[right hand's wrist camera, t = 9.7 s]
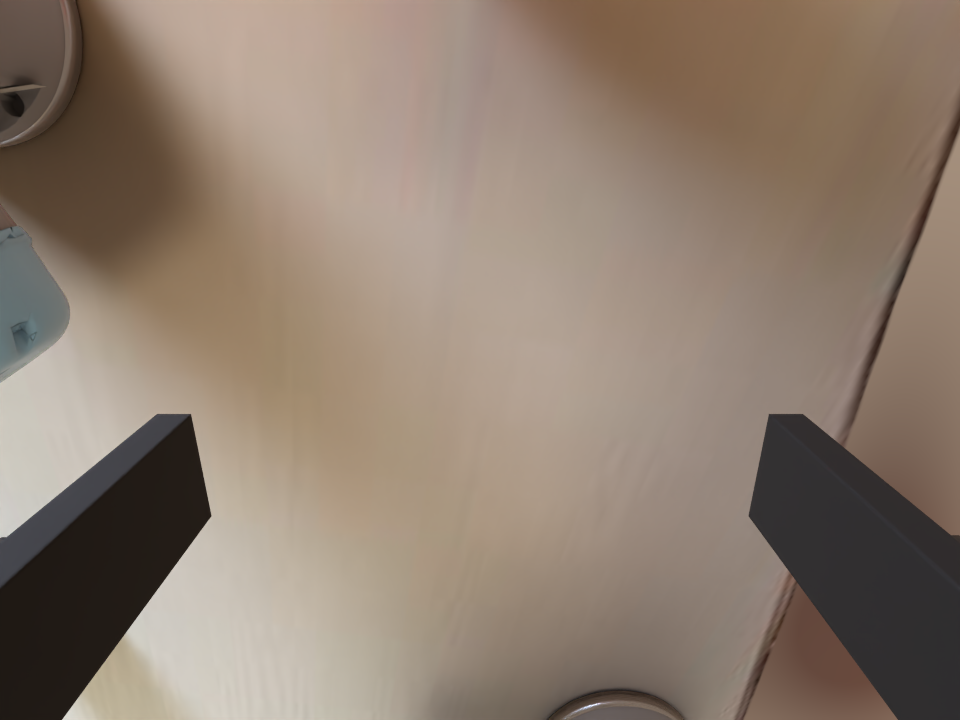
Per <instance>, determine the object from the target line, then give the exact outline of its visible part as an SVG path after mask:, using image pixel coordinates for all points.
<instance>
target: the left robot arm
mask: <svg viewBox="0 0 960 720" xmlns="http://www.w3.org/2000/svg"><path fill="white" fill-rule="evenodd" d="M81 62H82V32H81V24H80V18H79V13H78V9H77V5H76V1H75V0H0V147H5V146H12V145H16V144H19V143H23V142H25V141H28V140H30V139H32V138H34V137H36V136H38V135H40V134H41V133H42V132H44V131H45V130H47V129H48V128H49V127H50V126H51V125H52V124H53V123H55V122H56V121H57V119H58V118H59V117H60V116H61V115H62V113H63V112H64V110H65V109H66V107H67V106H68V104H69V102H70V100H71V98H72V96H73V94H74V91H75V88H76V86H77V83H78V79H79V74H80V70H81ZM69 319H70V307H69V304H68V300H67V298H66V296H65V294H64V293H63V291H62V290H61V289H60V287H59V286H58V284H57V283H56V281H55V280H54V278H53V277H52V275H51V274H50V272H49V271H48V270H47V268H46V267H45V265H44V264H43V262H42V261H41V259H40V258H39V256H38V255H37V253H36V252H35V250H34V249H33V248H32V239H31V237H29V235H28V234H27V232H25V231H24V230H23V229H22V228H21V227H20V226H17V225H16V224H15V222H14V221H13V220H12V219H11V217H10V216H9V215H8V213H7V212H6V211H5V209H4V208H3V207H2V205H1V204H0V382H2V381H3V380H5V379H6V378H8V377H9V376H11V375H12V374H14V373H15V372H17V371H18V370H19V369H21V368H22V367H24V366H25V365H27V364H28V363H29V362H31V361H32V360H34V359H35V358H36V357H38V356H39V355H40V354H42V353H43V352H44V351H46V350H47V349H48V348H50V347H51V346H52V345H53V344H54V343H56V342H57V341H58V340H59V339H60V337H61V336H62V335H63V334H64V332H65V330H66V328H67V326H68V323H69Z"/></svg>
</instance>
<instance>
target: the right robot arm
mask: <svg viewBox="0 0 960 720" xmlns="http://www.w3.org/2000/svg"><path fill="white" fill-rule="evenodd" d="M210 517H211V512H210V507H209V502H208V497H207V492H206V487H205V482H204V477H203V472H202V467H201V462H200V457H199V452H198V447H197V442H196V437H195V432H194V427H193V422H192V417H191V414H157V415H156V416H154V417H153V418H152V419H151V420H149V421H148V422H147V423H146V424H145V425H143V426H142V427H141V428H140V429H138V430H137V431H136V432H135V433H134V434H132V435H131V436H130V437H129V438H127V439H126V440H125V441H124V442H123V443H121V444H120V445H119V446H118V447H116V448H115V449H114V450H113V451H112V452H110V453H109V454H108V455H107V456H105V457H104V458H103V459H102V460H101V461H99V462H98V463H97V464H96V465H94V466H93V467H92V468H91V469H90V470H88V471H87V472H86V473H85V474H83V475H82V476H81V477H80V478H79V479H77V480H76V481H75V482H74V483H72V484H71V485H70V486H69V487H68V488H66V489H65V490H64V491H63V492H61V493H60V494H59V495H58V496H57V497H55V498H54V499H53V500H52V501H50V502H49V503H48V504H47V505H46V506H44V507H43V508H42V509H41V510H39V511H38V512H37V513H36V514H35V515H33V516H32V517H31V518H30V519H28V520H27V521H26V522H25V523H24V524H22V525H21V526H20V527H19V528H17V529H16V530H15V531H14V532H13V533H11V534H10V535H9V536H8V537H2V538H0V720H62V719H63V718H64V716H65V715H66V713H67V712H68V711H69V709H70V708H71V707H72V705H73V704H74V703H75V701H76V700H77V698H78V697H79V696H80V694H81V693H82V692H83V690H84V689H85V688H86V686H87V685H88V683H89V682H90V681H91V679H92V678H93V677H94V675H95V674H96V673H97V671H98V670H99V668H100V667H101V666H102V664H103V663H104V662H105V660H106V659H107V658H108V656H109V655H110V653H111V652H112V651H113V649H114V648H115V647H116V645H117V644H118V643H119V641H120V640H121V638H122V637H123V636H124V634H125V633H126V632H127V630H128V629H129V628H130V626H131V625H132V623H133V622H134V621H135V619H136V618H137V617H138V615H139V614H140V613H141V611H142V610H143V609H144V607H145V606H146V604H147V603H148V602H149V600H150V599H151V598H152V596H153V595H154V594H155V592H156V591H157V589H158V588H159V587H160V585H161V584H162V583H163V581H164V580H165V579H166V577H167V576H168V574H169V573H170V572H171V570H172V569H173V568H174V566H175V565H176V564H177V562H178V561H179V559H180V558H181V557H182V555H183V554H184V553H185V551H186V550H187V549H188V547H189V546H190V544H191V543H192V542H193V540H194V539H195V538H196V536H197V535H198V534H199V532H200V531H201V529H202V528H203V527H204V525H205V524H206V523H207V521H208V520H209V519H210ZM749 517H750V519H751V520H752V521H753V523H754V524H755V525H756V527H757V528H758V529H759V531H760V532H761V534H762V535H763V536H764V538H765V539H766V540H767V542H768V543H769V544H770V546H771V547H772V549H773V550H774V551H775V553H776V554H777V555H778V557H779V558H780V559H781V561H782V562H783V564H784V565H785V566H786V568H787V569H788V570H789V572H790V573H791V574H792V576H793V577H794V579H795V580H796V581H797V583H798V584H799V585H800V587H801V588H802V589H803V591H804V592H805V594H806V595H807V596H808V598H809V599H810V600H811V602H812V603H813V604H814V606H815V607H816V608H817V610H818V611H819V613H820V614H821V615H822V617H823V618H824V619H825V621H826V622H827V623H828V625H829V626H830V627H831V629H832V630H833V632H834V633H835V634H836V636H837V637H838V638H839V640H840V641H841V643H842V644H843V645H844V647H845V648H846V649H847V651H848V652H849V653H850V655H851V656H852V658H853V659H854V660H855V662H856V663H857V664H858V666H859V667H860V668H861V670H862V671H863V673H864V674H865V675H866V677H867V678H868V679H869V681H870V682H871V683H872V685H873V686H874V688H875V689H876V690H877V692H878V693H879V694H880V696H881V697H882V698H883V700H884V701H885V703H886V704H887V705H888V707H889V708H890V709H891V711H892V712H893V713H894V715H895V716H896V717H897V719H898V720H960V536H959V535H950V534H949V533H947V532H946V531H945V530H944V529H942V528H941V527H940V526H939V525H938V524H936V523H935V522H934V521H933V520H932V519H930V518H929V517H928V516H927V515H925V514H924V513H923V512H922V511H921V510H919V509H918V508H917V507H916V506H914V505H913V504H912V503H911V502H910V501H908V500H907V499H906V498H905V497H903V496H902V495H901V494H900V493H899V492H897V491H896V490H895V489H894V488H892V487H891V486H890V485H889V484H887V483H886V482H885V481H884V480H883V479H881V478H880V477H879V476H878V475H877V474H875V473H874V472H873V471H872V470H870V469H869V468H868V467H867V466H866V465H864V464H863V463H862V462H861V461H859V460H858V459H857V458H856V457H855V456H853V455H852V454H851V453H850V452H848V451H847V450H846V449H845V448H844V447H842V446H841V445H840V444H839V443H837V442H836V441H835V440H834V439H833V438H831V437H830V436H829V435H828V434H826V433H825V432H824V431H823V430H822V429H820V428H819V427H818V426H817V425H815V424H814V423H813V422H812V421H811V420H809V419H808V418H807V417H806V416H804V415H803V414H769V417H768V422H767V427H766V432H765V437H764V442H763V447H762V452H761V457H760V462H759V467H758V472H757V477H756V482H755V487H754V492H753V497H752V502H751V507H750V512H749ZM548 720H684V719H683V718H682V716H681V715H680V714H679V713H678V712H677V711H676V710H675V709H674V708H673V707H672V706H670V705H669V704H668V703H666V702H664V701H663V700H661V699H658V698H656V697H654V696H651V695H648V694H644V693H639V692H633V691H605V692H599V693H594V694H590V695H587V696H584V697H581V698H578V699H576V700H574V701H572V702H570V703H568V704H566V705H565V706H563V707H562V708H560V709H559V710H558V711H556V712H555V713H554V714H553V715H552V716H551V717H550V718H549V719H548Z"/></svg>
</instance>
